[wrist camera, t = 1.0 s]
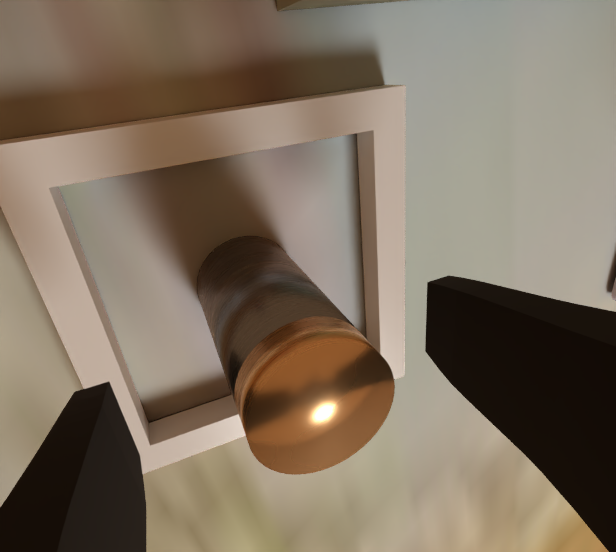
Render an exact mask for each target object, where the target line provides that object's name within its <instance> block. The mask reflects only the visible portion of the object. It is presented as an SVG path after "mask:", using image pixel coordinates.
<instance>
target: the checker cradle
mask: <svg viewBox="0 0 616 552" xmlns="http://www.w3.org/2000/svg"><path fill="white" fill-rule="evenodd" d="M355 133H357V147H358V168H359V188H360V209H361V230H362V250H363V271H364V292H365V312H366V333H367V340H368V342H369V343H370V344H371V345H372V346H373V347H374V348H375V349H376V350H377V351H378V352H379V353H380V354H381V355H382V357H383V358H384V359H385V360H386V361H387V363H388V364H389V366H390V368H391V370H392V373H393V377H394V380H395V379H398V378H400V377H403V376H405V85H381V86H374V87H367V88H361V89H354V90H347V91H340V92H333V93H326V94H319V95H312V96H305V97H298V98H291V99H284V100H277V101H271V102H264V103H257V104H250V105H243V106H236V107H229V108H222V109H215V110H208V111H201V112H194V113H187V114H181V115H174V116H167V117H160V118H153V119H146V120H139V121H132V122H125V123H118V124H111V125H104V126H97V127H91V128H84V129H77V130H70V131H63V132H56V133H49V134H42V135H35V136H28V137H21V138H14V139H7V140H1V141H0V207H1V209H2V211H3V213H4V215H5V217H6V220H7V222H8V224H9V226H10V228H11V231H12V233H13V235H14V237H15V239H16V242H17V244H18V246H19V248H20V250H21V252H22V255H23V257H24V259H25V261H26V263H27V266H28V268H29V270H30V272H31V274H32V277H33V279H34V281H35V283H36V285H37V287H38V290H39V292H40V294H41V296H42V298H43V301H44V303H45V305H46V307H47V309H48V312H49V314H50V316H51V318H52V320H53V322H54V325H55V327H56V329H57V331H58V333H59V336H60V338H61V340H62V342H63V344H64V347H65V349H66V351H67V353H68V355H69V357H70V360H71V362H72V364H73V366H74V368H75V371H76V373H77V375H78V377H79V379H80V382H81V384H82V386H83V388H84V389H86V388H89V387H92V386H96V385H99V384H102V383H105V382H110V384H111V387H112V389H113V392H114V394H115V396H116V399H117V401H118V404H119V406H120V408H121V411H122V413H123V416H124V418H125V421H126V423H127V425H128V428H129V430H130V433H131V435H132V437H133V440H134V442H135V445H136V447H137V449H138V452H139V454H140V458H141V466H142V474H145V473H147V472H150V471H153V470H155V469H158V468H161V467H163V466H166V465H169V464H171V463H174V462H177V461H179V460H182V459H185V458H187V457H190V456H193V455H195V454H198V453H201V452H203V451H206V450H209V449H211V448H214V447H217V446H219V445H222V444H224V443H227V442H230V441H232V440H235V439H238V438H240V437H243V436H246V434H245V431H244V428H243V426H242V423H241V420H240V417H239V414H238V411H237V408H236V405H235V402H234V399H233V396H232V395H229V396H226V397H224V398H221V399H218V400H215V401H212V402H209V403H206V404H203V405H200V406H197V407H194V408H192V409H189V410H186V411H183V412H180V413H177V414H174V415H171V416H168V417H165V418H162V419H160V420H157V421H154V422H151V423H148V420H147V417H146V415H145V412H144V409H143V407H142V404H141V402H140V399H139V396H138V394H137V391H136V389H135V386H134V383H133V381H132V378H131V376H130V373H129V370H128V368H127V365H126V362H125V360H124V357H123V355H122V352H121V349H120V347H119V344H118V342H117V339H116V336H115V334H114V331H113V329H112V326H111V323H110V321H109V318H108V315H107V313H106V310H105V308H104V305H103V302H102V300H101V297H100V295H99V292H98V289H97V287H96V284H95V282H94V279H93V276H92V274H91V271H90V268H89V266H88V263H87V261H86V258H85V255H84V253H83V250H82V248H81V245H80V242H79V240H78V237H77V235H76V232H75V229H74V227H73V224H72V221H71V219H70V216H69V214H68V211H67V208H66V206H65V203H64V201H63V198H62V195H61V193H60V190H59V188H58V186H63V185H68V184H74V183H80V182H85V181H91V180H96V179H102V178H108V177H113V176H119V175H124V174H130V173H136V172H141V171H147V170H153V169H158V168H164V167H169V166H175V165H181V164H186V163H192V162H198V161H203V160H209V159H214V158H220V157H226V156H231V155H237V154H243V153H248V152H254V151H259V150H265V149H271V148H276V147H282V146H287V145H293V144H299V143H304V142H310V141H316V140H321V139H327V138H332V137H338V136H344V135H349V134H355Z"/></svg>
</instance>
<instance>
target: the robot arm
mask: <svg viewBox="0 0 616 552" xmlns="http://www.w3.org/2000/svg"><path fill="white" fill-rule="evenodd" d="M611 296H612V299H613V300H616V278H615V282H614V286H613V290H612V295H611ZM426 353H427V354H428V355H429V356H430V358H431V359H432V360H433V362H434V363H435V364H436V366H437V367H438V368H439V370H440V371H441V372H442V373H443V374H444V376H445V377H446V378H447V379H448V380H449V382H450V383H451V384H452V385H453V386H454V387H455V388H456V389H457V390H458V391H459V392H460V393H461V394H462V395H463V396H464V397H465V398H466V399H467V400H468V401H469V402H470V403H471V404H472V405H473V406H474V407H475V408H477V409H478V410H479V411H480V412H481V413H482V414H483V415H484V416H485V417H486V418H487V419H488V420H489V421H490V422H491V423H492V424H493V425H494V426H495V427H496V428H498V429H499V430H500V431H501V432H502V433H503V434H504V435H505V436H506V437H507V438H508V439H509V440H510V441H511V442H512V443H513V444H514V445H515V446H516V447H517V448H519V449H520V450H521V451H522V452H523V453H524V454H525V455H526V456H527V457H528V458H529V459H530V460H531V461H532V462H533V463H534V465H535V466H536V467H537V468H538V469H539V470H540V471H541V472H542V473H543V474H544V475H545V476H546V478H547V479H548V480H549V481H550V482H551V483H552V484H553V486H554V487H555V488H556V489H557V490H558V491H559V492H560V494H561V495H562V496H563V497H564V498H565V499H566V500H567V502H568V503H569V504H570V505H571V506H572V507H573V509H574V510H575V511H576V512H577V513H578V515H579V516H580V517H581V518H582V519H583V521H584V522H585V523H586V524H587V526H588V527H589V528H590V529H591V530H592V532H593V533H594V534H595V535H596V536H597V538H598V539H599V540H600V541H601V543H602V544H603V545H604V546H605V547H606V549H607V550H608V551H609V552H616V312H613V311H608V310H603V309H598V308H593V307H588V306H583V305H578V304H574V303H569V302H565V301H560V300H556V299H551V298H547V297H543V296H539V295H534V294H530V293H526V292H522V291H518V290H514V289H510V288H506V287H502V286H497V285H493V284H489V283H485V282H480V281H476V280H471V279H466V278H461V277H454V276H446V277H443V278H440V279H437V280H434V281H430V282H428V286H427V318H426ZM0 552H146V500H145V491H144V482H143V474H142V466H141V458H140V454H139V452H138V449H137V447H136V445H135V442H134V440H133V437H132V435H131V433H130V430H129V428H128V425H127V423H126V421H125V418H124V416H123V413H122V411H121V408H120V406H119V404H118V401H117V399H116V396H115V394H114V392H113V389H112V387H111V384H110V382H105V383H102V384H99V385H96V386H92V387H89V388H86V389H83V390H80V391H76V392H74V394H73V395H72V397H71V398H70V400H69V401H68V403H67V405H66V406H65V408H64V409H63V411H62V412H61V414H60V416H59V417H58V419H57V421H56V422H55V424H54V425H53V427H52V429H51V430H50V432H49V434H48V435H47V437H46V438H45V440H44V442H43V443H42V445H41V446H40V448H39V450H38V451H37V453H36V454H35V456H34V457H33V459H32V461H31V462H30V464H29V465H28V467H27V468H26V470H25V471H24V473H23V474H22V476H21V477H20V479H19V480H18V482H17V484H16V485H15V487H14V488H13V490H12V491H11V493H10V494H9V496H8V497H7V499H6V500H5V502H4V503H3V505H2V506H1V507H0Z"/></svg>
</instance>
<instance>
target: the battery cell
mask: <svg viewBox="0 0 616 552" xmlns="http://www.w3.org/2000/svg"><path fill="white" fill-rule="evenodd" d="M197 292H198V297H199V300H200V302H201V305H202V308H203V311H204V314H205V317H206V320H207V323H208V326H209V329H210V332H211V335H212V338H213V341H214V343H215V346H216V349H217V352H218V355H219V358H220V361H221V364H222V367H223V370H224V373H225V376H226V379H227V382H228V385H229V387H230V390H231V393H232V396H233V399H234V402H235V405H236V408H237V411H238V414H239V417H240V420H241V423H242V426H243V428H244V431H245V434H246V437H247V440H248V443H249V446H250V449H251V451H252V453H253V454H254V456H255V457H256V458H257V459H258V461H259V462H260V463H262V464H263V465H264V466H266V467H268V468H269V469H271V470H274V471H277V472H280V473H285V474H307V473H313V472H317V471H321V470H324V469H327V468H329V467H332V466H334V465H336V464H338V463H340V462H342V461H344V460H345V459H347V458H349V457H350V456H352V455H353V454H355V453H356V452H357V451H358V450H360V449H361V448H362V447H363V446H364V445H365V444H366V443H367V442H369V441H370V440H371V438H372V437H373V436H374V435H375V434H376V433H377V431H378V430H379V428H380V427H381V426H382V424H383V422H384V421H385V419H386V417H387V415H388V413H389V411H390V408H391V405H392V402H393V397H394V388H395V385H394V377H393V373H392V370H391V368H390V366H389V364H388V363H387V361H386V360H385V359H384V358H383V357H382V355H381V354H380V353H379V352H378V351H377V350H376V349H375V348H374V347H373V346H372V345H371V344H370V343H369V342H368V340H367V339H366V338H365V337H364V336H363V335H362V334H361V333H360V332H359V331H358V330H357V329H356V328H355V327H354V325H353V324H352V323H351V322H350V321H349V320H348V319H347V318H346V317H345V316H344V315H343V314H342V313H341V312H340V310H339V309H338V308H337V307H336V306H335V305H334V304H333V303H332V302H331V301H330V300H329V299H328V298H327V297H326V295H325V294H324V293H323V292H322V291H321V290H320V289H319V288H318V287H317V286H316V285H315V284H314V283H313V282H312V280H311V279H310V278H309V277H308V276H307V275H306V274H305V273H304V272H303V271H302V270H301V269H300V268H299V267H298V265H297V264H296V263H295V262H294V261H293V260H292V259H291V258H290V257H289V256H288V255H287V254H286V253H285V252H284V250H283V249H282V248H281V247H279V246H278V245H277V244H275V243H274V242H272V241H270V240H268V239H265V238H262V237H256V236H244V237H238V238H235V239H231V240H229V241H227V242H225V243H223V244H221V245H220V246H218V247H217V248H216V249H215V250H213V251H212V252H211V253H210V254H209V256H208V257H207V258H206V260H205V261H204V263H203V264H202V266H201V269H200V271H199V275H198V279H197Z"/></svg>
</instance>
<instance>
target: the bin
mask: <svg viewBox="0 0 616 552" xmlns="http://www.w3.org/2000/svg"><path fill="white" fill-rule="evenodd" d="M396 1H408V0H276V3H277V11H284V10H296V9H309V8H321V7H334V6H346V5H358V4H371V3H383V2H396Z"/></svg>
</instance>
